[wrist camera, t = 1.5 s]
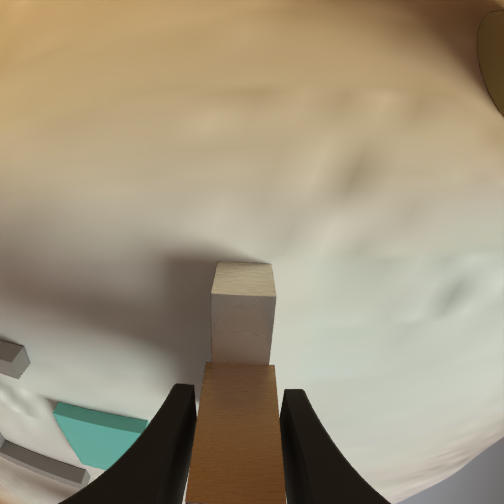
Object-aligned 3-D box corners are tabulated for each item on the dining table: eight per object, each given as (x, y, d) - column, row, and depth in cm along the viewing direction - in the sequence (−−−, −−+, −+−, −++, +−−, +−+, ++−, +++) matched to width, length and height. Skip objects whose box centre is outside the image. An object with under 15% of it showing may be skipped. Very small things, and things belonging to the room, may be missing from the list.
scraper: (261, 407, 15) (266, 551, 8) (214, 405, 15) (200, 548, 8) (276, 263, 12) (307, 447, 5) (212, 260, 12) (170, 441, 5)
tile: (164, 464, 18) (160, 481, 17) (87, 448, 18) (82, 463, 17) (149, 414, 16) (143, 434, 15) (61, 396, 16) (52, 413, 15)
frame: (90, 476, 19) (85, 490, 18) (2, 443, 19) (-4, 454, 18) (24, 346, 14) (11, 362, 13) (-67, 317, 14) (-79, 328, 12)
